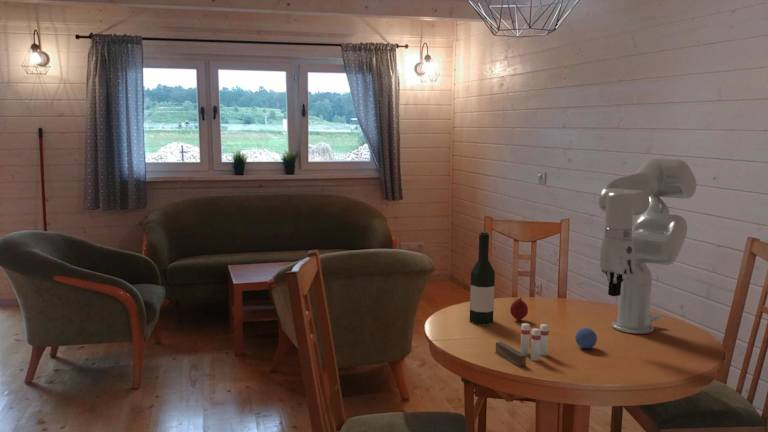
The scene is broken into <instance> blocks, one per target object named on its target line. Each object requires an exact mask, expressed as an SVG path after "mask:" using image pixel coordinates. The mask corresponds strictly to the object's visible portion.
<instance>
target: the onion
mask: <svg viewBox="0 0 768 432" xmlns="http://www.w3.org/2000/svg"><path fill="white" fill-rule="evenodd" d="M509 311H510V314H511V316H512V317H513V318H514V319H515V320H516V321H521V320H523V319H524V318H526V316H528V312H529V308H528V305H527V303H526V302H525V301H524V300H522V297H520V296H518V298H517V299H515V300H514V301H513V302H512V303H511V306H510V309H509Z"/></svg>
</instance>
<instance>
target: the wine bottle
mask: <svg viewBox="0 0 768 432" xmlns="http://www.w3.org/2000/svg"><path fill="white" fill-rule="evenodd" d="M478 239H479V240H478V259H477V261H476V262H475V264H474V265H473V267H472V269H471V270H470V295H469V296H470V297H469V298H470V299H469V322H470V323H472V322H473V323H472V324H474V323H475V325H482V324H485V326H488V325H491V324H494V307H495V306H494V305H495V282H496V281H495V280H496V279H495V278H496V272H495V269H494V267H493V265H492V264H491V262H490V260H489V251H490V250H489V248H490V247H489V246H490V234H489V232H488V231H485V230H484V231H483V230H482V231H480V233H479V235H478ZM490 323H491V324H490Z"/></svg>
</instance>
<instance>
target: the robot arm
mask: <svg viewBox="0 0 768 432" xmlns="http://www.w3.org/2000/svg"><path fill="white" fill-rule="evenodd" d="M696 191H697V179H696V176H695V174H694V172H693V171H692V168H691V167H690V166H689V164H688V163H687V162H685V161H684V160H682V159H671V158H651V159H648V160H645V162H644V163H642V165H641V166H640V167H639V168H638V169H637V170H636V171H635V173H632V174H627V175H625V176H621V177H618V178H615V179H613V180H611V181H609V182H608V183H607V184H606V185H605V186H604V187H603V188H602V190H601V192H600V193H599V196H598V207H599V209H600V210H601V211H602V212H605V218H604V219H605V220H604V236H603V238H602V241H601V248H600V255H599V266H600V268H601V272H602V273H603V274H605V275H606V278H607V282H608V288H607V289H608V292H607V295H609V296H610V297H618V304H617V305H618V306H617V319H615V320H613V321H612V322H611V326H612V328H614V329H615V330H617V331H619V332H623V333H627V334H634V335H636V334H637V335H644V334H650V333H653V332H654V329H655V327H654V326H653V324H652V323H653V322H659V321H660V320H661V316H660V315H659V314H655V315H654V314H653V315H652V314H650V310H651V298H652V297H651V294H652V281H653V275H652V273H651V272H652V271H651V270H650V269H649V266H648V265H647V264H652V265H653V264H654V265H663V266H671V265H673V264H674V263H675V262H676V261H677V259H678V256H679V255H680V251H681V249H682V247H683V245H684V242H685V240H686V237H687V234H688V224H687V220H686V219H685V218H684V217H683V216H682V215H677V214H673V213H670V208H669V206H667V204H666V203H665V202H664V200H663V199H662V198H671V199H690V198H692V197H693V196H694V195H695V193H696ZM634 216H637V218H636V219H635V222H633V221H634ZM633 223H634V225H633Z"/></svg>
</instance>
